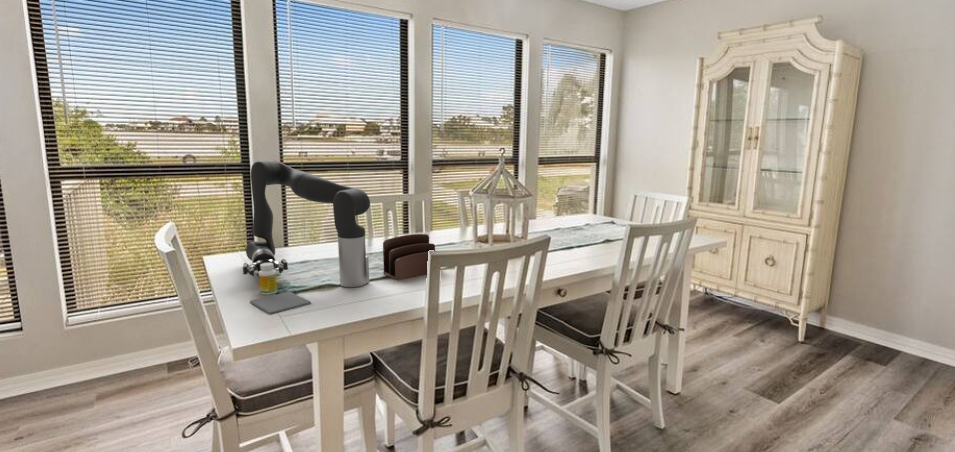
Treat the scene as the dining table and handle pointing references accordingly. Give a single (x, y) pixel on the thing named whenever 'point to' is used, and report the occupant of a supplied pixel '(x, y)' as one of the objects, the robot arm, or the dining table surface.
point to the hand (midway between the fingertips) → (266, 271)
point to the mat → (280, 302)
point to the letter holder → (406, 256)
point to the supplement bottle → (267, 279)
